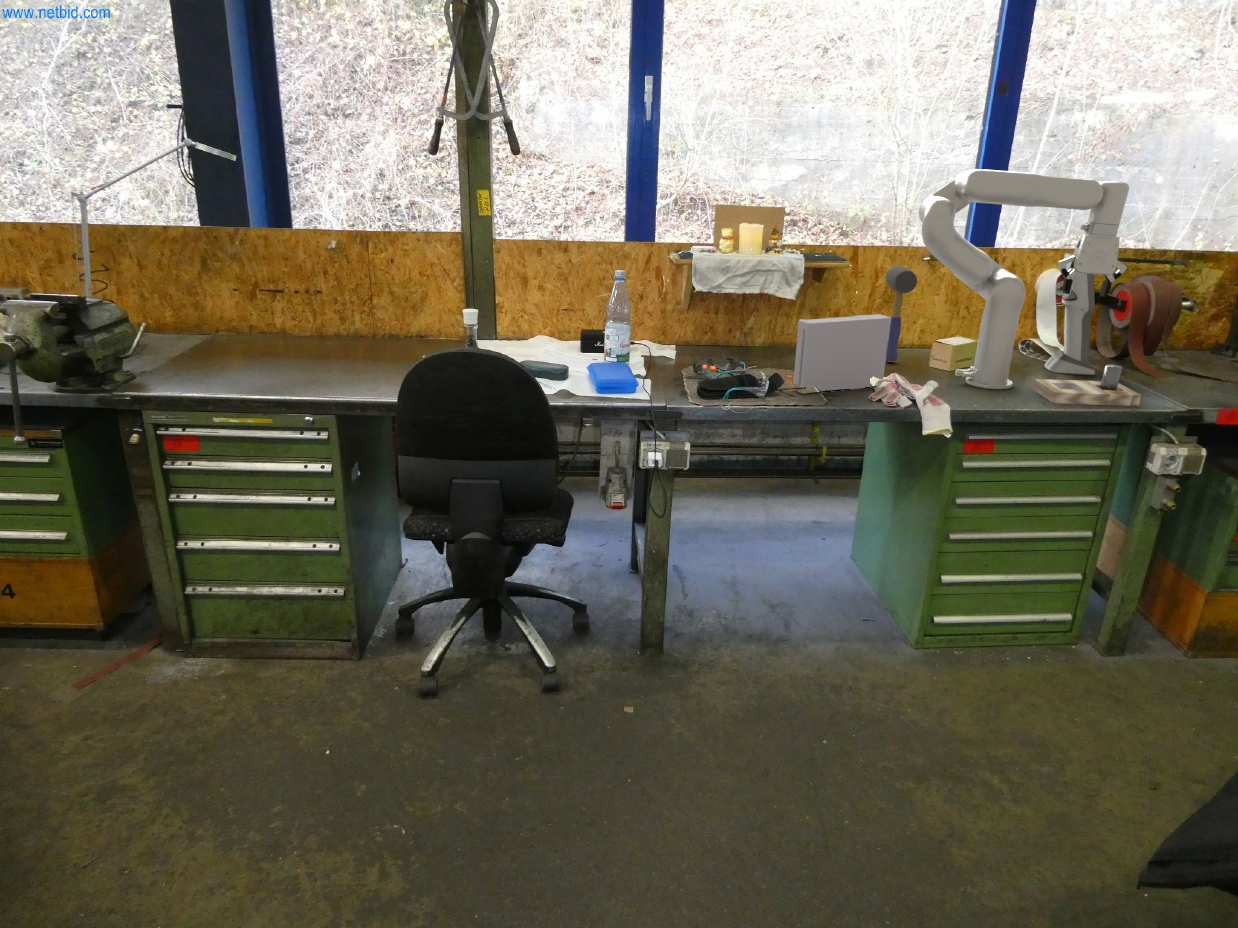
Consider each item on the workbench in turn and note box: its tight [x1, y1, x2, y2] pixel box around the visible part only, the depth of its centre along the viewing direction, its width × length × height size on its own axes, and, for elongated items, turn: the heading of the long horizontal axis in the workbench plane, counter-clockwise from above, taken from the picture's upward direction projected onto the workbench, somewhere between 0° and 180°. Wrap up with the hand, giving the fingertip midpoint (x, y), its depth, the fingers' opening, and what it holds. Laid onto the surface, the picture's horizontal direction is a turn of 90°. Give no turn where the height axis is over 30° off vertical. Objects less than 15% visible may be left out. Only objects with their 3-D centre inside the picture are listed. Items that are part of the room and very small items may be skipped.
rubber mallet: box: [885, 265, 918, 362], centre depth 254 cm, size 12×8×30 cm, turn 176°
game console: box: [792, 313, 892, 391], centre depth 226 cm, size 6×27×20 cm, turn 111°
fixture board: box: [1032, 378, 1142, 407], centre depth 222 cm, size 22×14×3 cm, turn 84°
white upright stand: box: [1043, 252, 1096, 376], centre depth 245 cm, size 12×13×35 cm
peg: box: [1100, 364, 1123, 390], centre depth 220 cm, size 4×4×9 cm
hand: (1084, 294), depth 221 cm, fingers open, 9 cm apart
